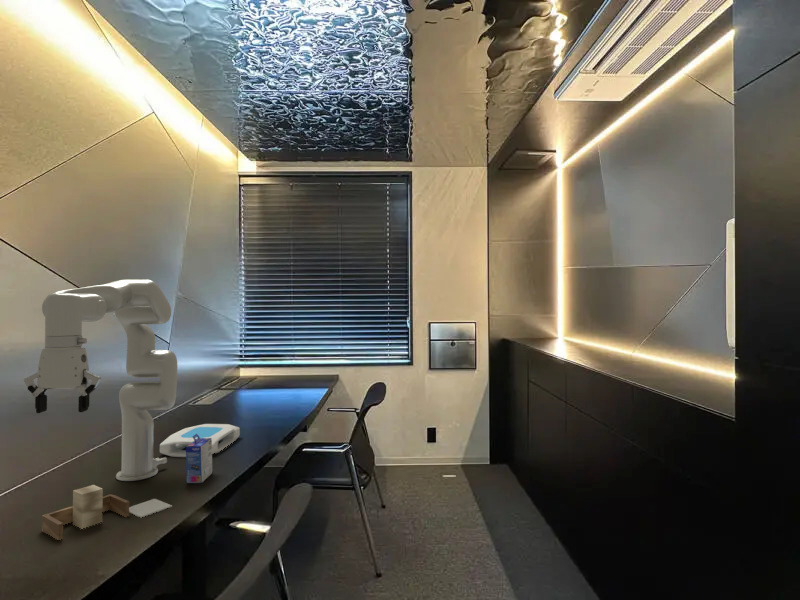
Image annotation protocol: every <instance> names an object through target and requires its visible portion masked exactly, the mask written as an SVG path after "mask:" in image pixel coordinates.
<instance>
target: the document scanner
mask: <svg viewBox="0 0 800 600" xmlns="http://www.w3.org/2000/svg"><path fill="white" fill-rule="evenodd" d="M240 429H241V428H240V427H239V426H237V425H232V424H228V423H203V424H198V425H194V426H190V427H185V428H183V429H181V430H179V431H176V432H175V433H172V434H170V435H169V436H168V437H166V439H164V440H163V441H162V442H161V443H160V444H159V453H160V454H162V455H165V456H169V457H171V458H174V457H176V458H186V446H188V445H189V444H190V443H192V442H193V441H194V439H193V436H194V435H196V434H198V436H199V437H200V438H212V455H215V454H218V453H221V452H222V451H224V450H225V449H226V448H228V447H229V446H231V445H232V444H233V442H234V441H237V439H238V438H239V437H240V434H241V430H240ZM197 438H198V437H195V439H197ZM219 442H220V443H219ZM231 443H232V444H231ZM234 443H235V442H234ZM230 444H231V445H230ZM228 445H229V446H228ZM227 446H228V447H227ZM225 447H226V448H225ZM224 448H225V449H224ZM223 449H224V450H223ZM221 450H222V451H221ZM220 451H221V452H220ZM214 453H215V454H214Z"/></svg>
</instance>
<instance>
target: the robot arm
mask: <svg viewBox="0 0 800 600" xmlns="http://www.w3.org/2000/svg"><path fill="white" fill-rule="evenodd" d="M41 312H42V314H43V316H44V318H45V319H44V320H45V321H44V348H42V349H41V352H40V356H39V361H38V367H37V372H35V373H34V374H31V375H29V376H27V377H25V378H24V379H23V382H24V384H25V386H26V387H27V391H28V392H30V393H31V395H32V397H33V398H34V399H35V400H34V402H35V403H34V408H35V412H36V414H41V413H44V412H46V411H47V410H48V396H47V394H46V392H47V391H49V390H68V389H69V390H72V389H75V390H76V391H77V392H78V393H79V394H80V395H79V396H78V407H77V409H78V411H77V412H79V413H84V412H87V411H88V410H89V408H90V395H91V394H92V393H93V392H94V391H95V390H96V389H97V388H98V386H99V384H100V382H101V380H102V377H101V376H99V375H97V374H95V373H93V372H91V371H90V367H89V360H88V359H89V358H88V354H87V350H86V347H82V346H83V344H87V342H88V339H87V338H86V337H83V335H82V333H83V332H82V331H83V329H82V326H83V323H92V322H97V321H100V320H101V319H102V318H104V317H105V315H106V314H109V313H114V314H115V317H116V318H117V320H118V321H119V323H120V324H121V326H122V327H123V329H124V331H125V334H126V339H127V340H126V357H125V358H126V362H125V363H126V365H125V370H126V373H127V375H128V376H129V377H130V378H138V379H139V378H140V379H143V378H144V379H146V378H147V379H148V378H149V379H153V378H154V379H155V378H156V379H157V378H158V379H159V380H160V381H134V382H133V381H132V382H129V383H128V382H127V383H126V384H124V385H123V386H122V387H121V388H120V390H119V394H118V400H119V401H118V402H119V406H120V412H121V468H120V469H121V470H119V471H118V472H117V473H116V474H115V478H116V480H118V481H122V482H133V481H134V482H135V481H141V480H146V479H150V478H151V477H153V476H156V475H157V474H158V473H159V468H158V466H159V465H162V464H163V465H164V464H166V463H167V462H168V459H167V457H166V456H165V457H161V458H159V457H157V458H154V427H155V423H154V419H153V417H152V415H151V413H150V412H149V411H161V410H163V411H164V410H169V409H172V408H173V407H174V406H175V404H176V399H177V390H178V389H177V388H178V385H177V384H178V358H177V356H176V354H175V352H174V351H172V350H168V349H156V334H155V333H154V331H153V330H152V328H151V326H149V325H163V324H166V323H168V322H169V321H170V320H171V317H172V308H171V304H170V301H169V300H168V299H167V297H166V295H165V293H164V292H163V290H162V288H161V287H160V286H159V285H158V284H157V283H156V282H155V281H153V280H152V279H151V280H150V279H120V280H115V281H111V282H107V283H104V284H100V285H98V284H97V285H92V286H86V287H79V288H70V289H63V290H59V291H56V292H53V293H50V294H48V295H47V296H46V297H45V299H44V300H43V301H42V305H41ZM35 380H37V381H36V382H37V385H36V384H35ZM90 381H91V382H90ZM89 382H90V385H88V384H89Z"/></svg>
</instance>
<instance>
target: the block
mask: <svg viewBox="0 0 800 600" xmlns="http://www.w3.org/2000/svg"><path fill="white" fill-rule="evenodd" d="M103 495H104V491H103V488H102V487H100V486H97V485H95V484H91V485H88V486H84V487H81V488H77V489H74V490H72V506H73V523H72V526H74V525H75V526H77V527H79V528H81V529H83V528H85V529H87V528H86V527H88V528H90V527H89V526H91V527H93V526H92V525H94V526H96V525H95V524H97V523H100V522H102V523H103V513H102V506H103V497H104V496H103ZM100 524H101V523H100ZM97 525H98V524H97ZM75 526H74V527H75ZM77 527H76V528H77ZM79 528H78V529H79ZM81 529H80V530H81ZM83 530H84V529H83Z"/></svg>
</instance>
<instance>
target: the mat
mask: <svg viewBox="0 0 800 600" xmlns="http://www.w3.org/2000/svg"><path fill="white" fill-rule="evenodd" d="M172 507H173V505H172V504H169V503H167V502H164V501H162V500H160V499H157V498H151V499H150V500H147V501H144V502H140V503H138V504H134V505H131V506H129V515H132V514H133V516H134V515H135V517H136V518H139V517H140V518H139V519H143V518H145V516H146V517H148V515H149V516H150V515H151V516H152V515H153V513H154V514H157V513H159V512H162V511H165V510H168V509H170V508H172ZM167 508H168V509H167ZM156 512H157V513H156ZM142 517H143V518H142Z"/></svg>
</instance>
